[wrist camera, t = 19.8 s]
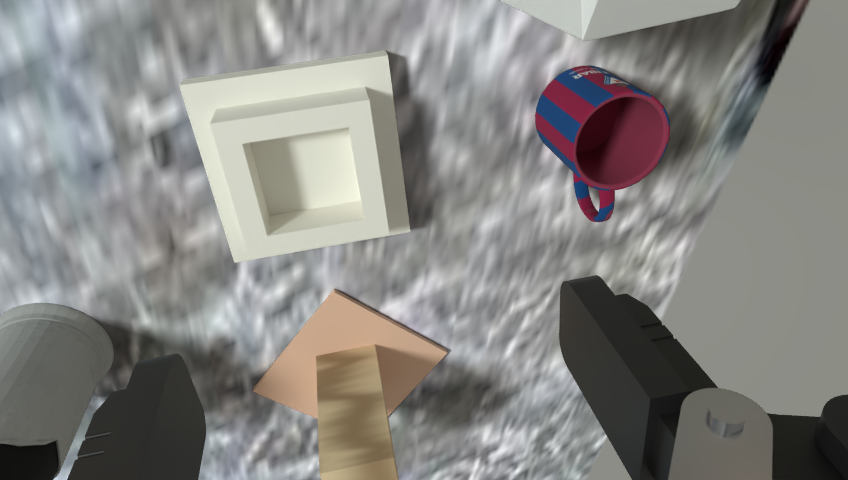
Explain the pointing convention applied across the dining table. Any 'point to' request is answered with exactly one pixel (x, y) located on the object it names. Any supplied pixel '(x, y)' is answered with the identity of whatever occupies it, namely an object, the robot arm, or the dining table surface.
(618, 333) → the robot arm
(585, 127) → the mug
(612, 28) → the milk carton
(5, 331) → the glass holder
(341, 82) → the socket stand
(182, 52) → the dining table surface
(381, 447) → the oak bar
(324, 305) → the terracotta mat
